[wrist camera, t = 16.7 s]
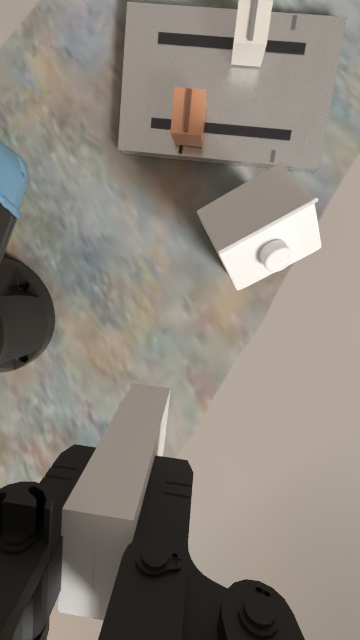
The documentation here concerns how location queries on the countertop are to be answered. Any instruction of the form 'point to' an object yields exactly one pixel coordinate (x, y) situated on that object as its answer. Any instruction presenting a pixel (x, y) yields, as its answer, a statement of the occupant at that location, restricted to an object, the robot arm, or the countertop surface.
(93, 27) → the countertop surface
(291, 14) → the console
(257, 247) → the milk carton
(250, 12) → the block
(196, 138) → the fader
